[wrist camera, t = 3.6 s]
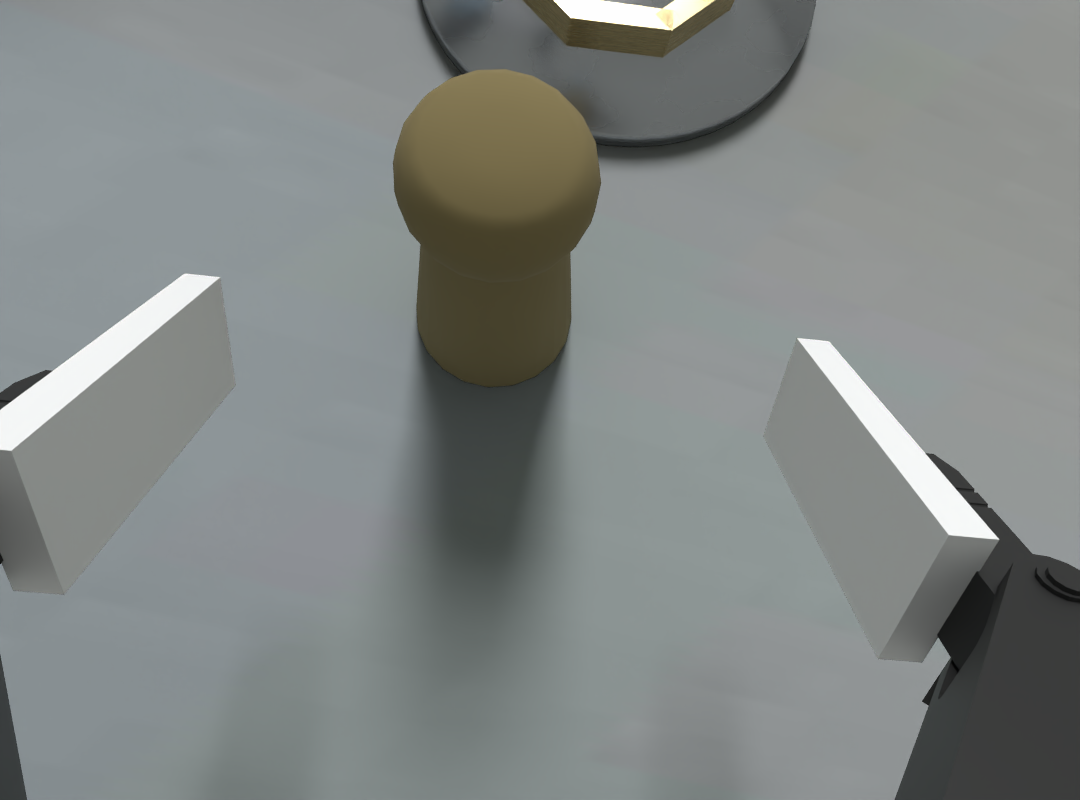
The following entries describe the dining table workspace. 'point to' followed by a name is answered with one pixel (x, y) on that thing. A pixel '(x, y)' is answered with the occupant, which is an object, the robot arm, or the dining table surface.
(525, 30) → the ring plate
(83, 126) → the dining table surface
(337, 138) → the dining table surface
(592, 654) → the dining table surface
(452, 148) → the cork
